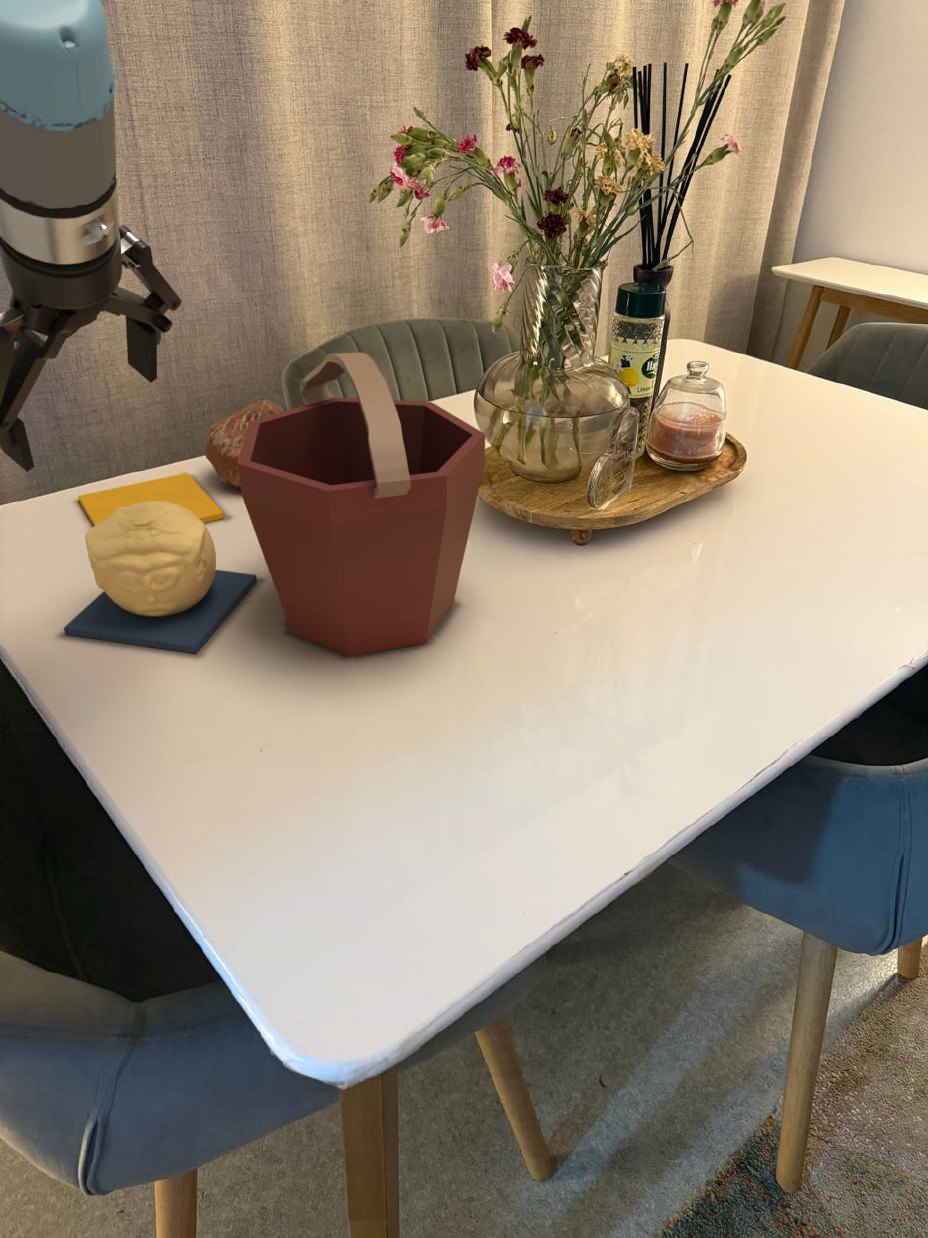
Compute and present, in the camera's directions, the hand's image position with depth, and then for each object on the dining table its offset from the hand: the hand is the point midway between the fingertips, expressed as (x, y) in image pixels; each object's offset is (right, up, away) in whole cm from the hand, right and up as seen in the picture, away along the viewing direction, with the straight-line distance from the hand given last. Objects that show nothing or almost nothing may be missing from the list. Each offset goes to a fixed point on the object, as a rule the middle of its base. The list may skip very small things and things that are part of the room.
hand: (83, 413), depth 76 cm
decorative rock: (+5, +1, +42) cm, 43 cm away
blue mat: (+2, -16, +15) cm, 23 cm away
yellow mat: (-6, -4, +34) cm, 35 cm away
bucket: (+23, -17, +16) cm, 33 cm away
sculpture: (+2, -16, +15) cm, 22 cm away
